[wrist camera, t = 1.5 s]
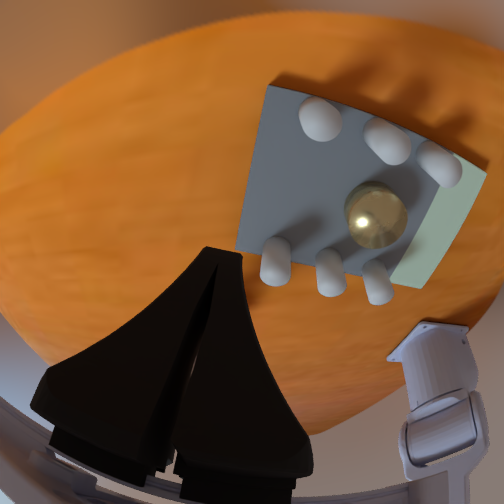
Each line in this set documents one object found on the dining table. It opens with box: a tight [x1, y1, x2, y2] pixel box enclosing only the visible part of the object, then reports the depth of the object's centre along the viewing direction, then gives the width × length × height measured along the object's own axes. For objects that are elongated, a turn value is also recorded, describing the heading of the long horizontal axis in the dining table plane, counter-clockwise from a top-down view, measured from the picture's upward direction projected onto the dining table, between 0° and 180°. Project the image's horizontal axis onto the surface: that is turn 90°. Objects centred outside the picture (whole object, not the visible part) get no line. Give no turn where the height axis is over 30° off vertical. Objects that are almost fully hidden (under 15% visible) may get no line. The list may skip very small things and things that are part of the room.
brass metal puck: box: [344, 181, 408, 249], centre depth 16 cm, size 4×4×2 cm
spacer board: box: [235, 85, 487, 305], centre depth 16 cm, size 17×12×4 cm
